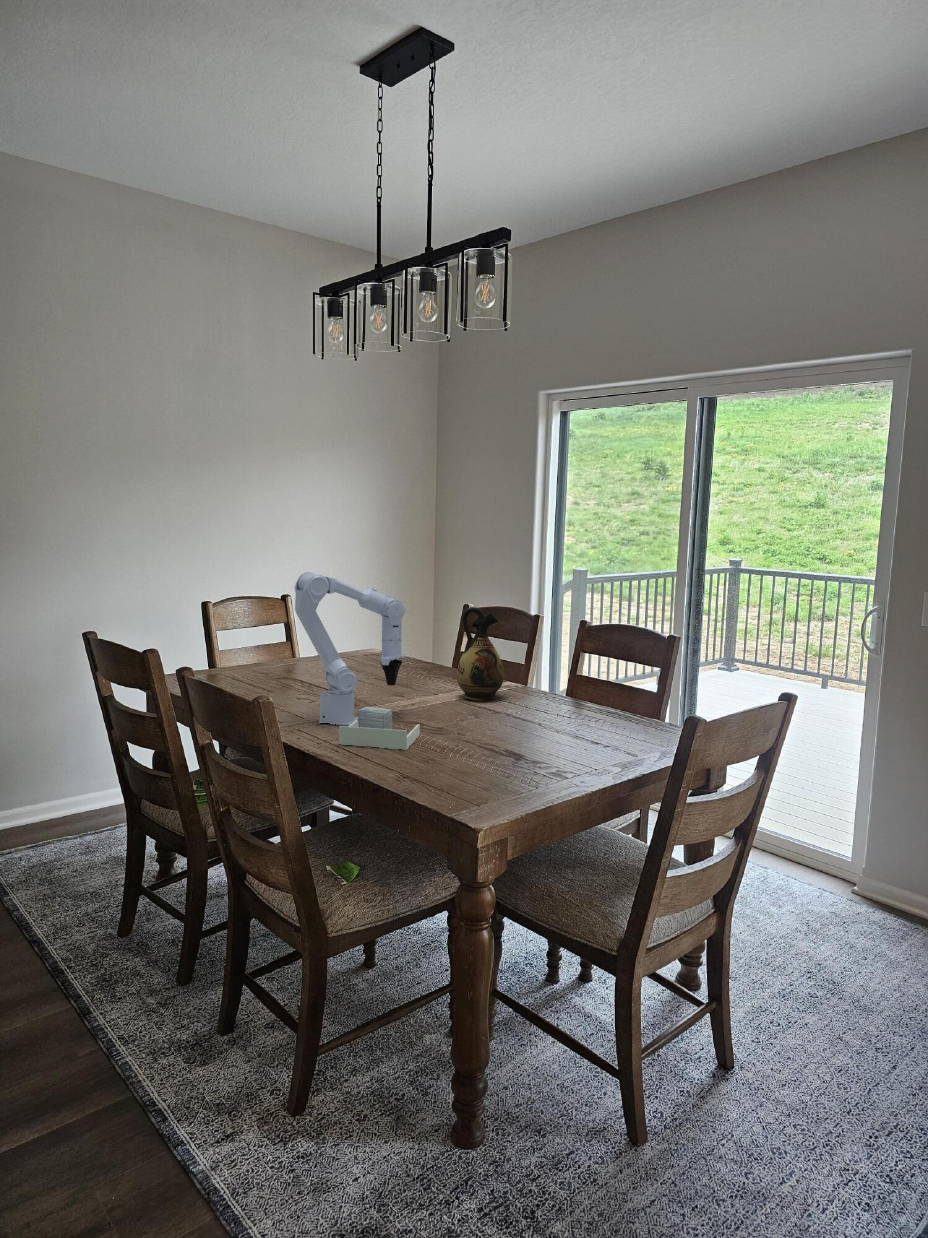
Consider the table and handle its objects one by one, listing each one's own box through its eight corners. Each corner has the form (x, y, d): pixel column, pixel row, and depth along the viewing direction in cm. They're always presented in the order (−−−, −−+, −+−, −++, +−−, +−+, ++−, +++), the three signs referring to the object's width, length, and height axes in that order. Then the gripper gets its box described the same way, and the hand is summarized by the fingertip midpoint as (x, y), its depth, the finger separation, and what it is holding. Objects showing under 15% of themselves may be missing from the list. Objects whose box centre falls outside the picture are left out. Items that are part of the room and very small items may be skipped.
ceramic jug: (504, 694, 274) (506, 605, 270) (502, 704, 258) (504, 611, 255) (454, 692, 275) (455, 604, 271) (448, 702, 260) (450, 609, 256)
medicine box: (392, 741, 215) (392, 709, 214) (384, 745, 211) (385, 712, 210) (366, 737, 218) (366, 706, 217) (358, 741, 214) (358, 709, 213)
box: (338, 745, 210) (338, 726, 210) (356, 730, 225) (356, 713, 224) (406, 750, 207) (406, 731, 207) (419, 735, 221) (419, 717, 221)
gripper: (398, 644, 231) (398, 691, 232) (410, 636, 245) (410, 680, 246) (374, 642, 232) (374, 689, 234) (388, 635, 246) (387, 679, 248)
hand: (391, 685), depth 240 cm, fingers closed
